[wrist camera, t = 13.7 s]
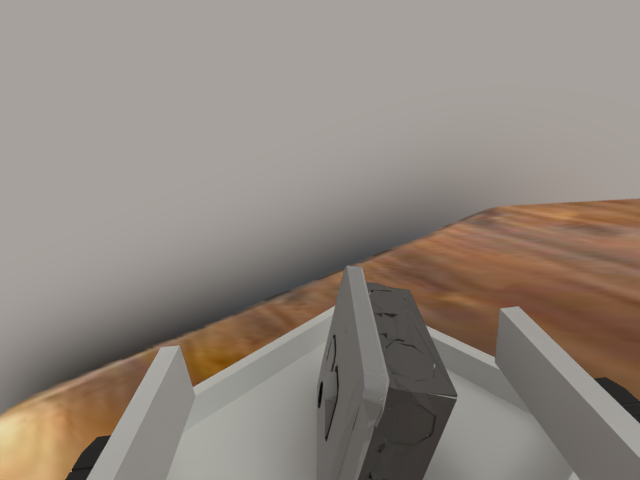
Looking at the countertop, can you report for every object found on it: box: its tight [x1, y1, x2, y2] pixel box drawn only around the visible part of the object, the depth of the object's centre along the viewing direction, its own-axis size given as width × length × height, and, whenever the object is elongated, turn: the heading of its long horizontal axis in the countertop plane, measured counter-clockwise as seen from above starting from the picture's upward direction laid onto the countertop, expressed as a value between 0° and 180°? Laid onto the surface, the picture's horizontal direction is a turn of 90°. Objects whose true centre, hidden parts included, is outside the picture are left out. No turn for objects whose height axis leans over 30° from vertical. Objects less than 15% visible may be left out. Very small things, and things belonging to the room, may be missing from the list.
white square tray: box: [166, 306, 580, 480], centre depth 19 cm, size 18×18×3 cm
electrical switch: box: [316, 266, 458, 480], centre depth 18 cm, size 9×5×9 cm, turn 0°
